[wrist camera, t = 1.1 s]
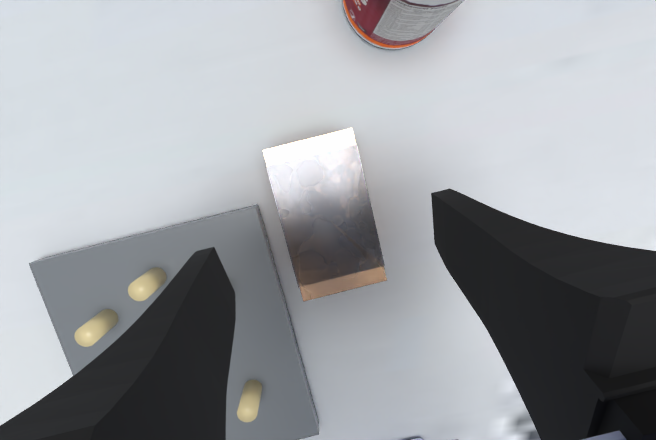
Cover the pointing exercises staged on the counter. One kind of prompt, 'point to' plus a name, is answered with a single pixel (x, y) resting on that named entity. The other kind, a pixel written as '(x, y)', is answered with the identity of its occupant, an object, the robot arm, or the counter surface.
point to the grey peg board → (148, 283)
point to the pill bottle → (396, 20)
